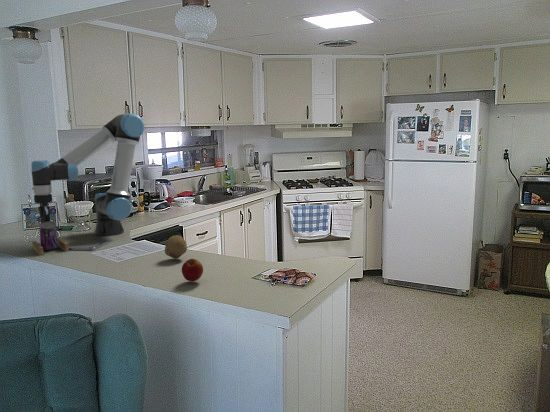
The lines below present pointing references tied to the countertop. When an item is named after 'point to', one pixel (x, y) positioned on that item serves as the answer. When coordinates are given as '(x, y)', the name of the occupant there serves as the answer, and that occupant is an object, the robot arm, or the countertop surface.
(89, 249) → the hinge
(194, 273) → the apple
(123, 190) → the robot arm
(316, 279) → the countertop surface
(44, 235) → the beverage can
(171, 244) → the natural sponge
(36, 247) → the guide channel
